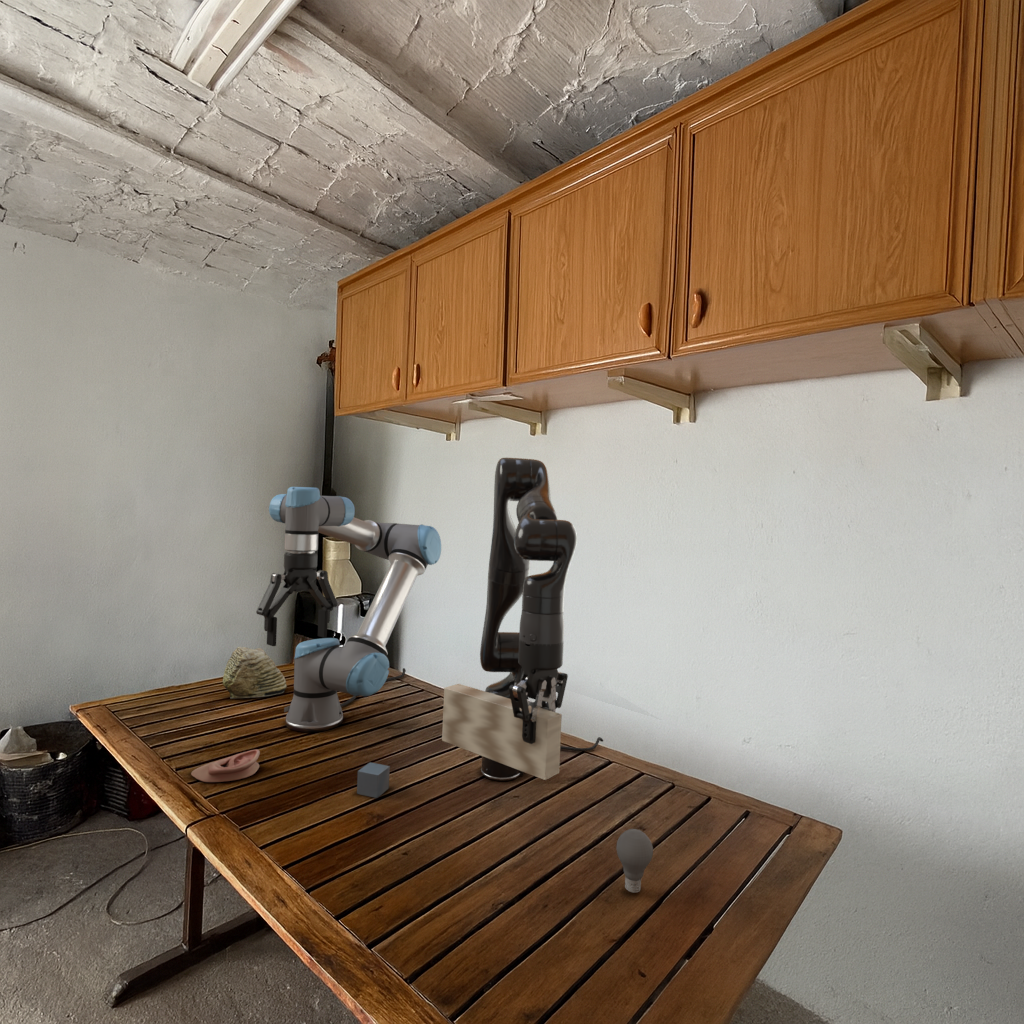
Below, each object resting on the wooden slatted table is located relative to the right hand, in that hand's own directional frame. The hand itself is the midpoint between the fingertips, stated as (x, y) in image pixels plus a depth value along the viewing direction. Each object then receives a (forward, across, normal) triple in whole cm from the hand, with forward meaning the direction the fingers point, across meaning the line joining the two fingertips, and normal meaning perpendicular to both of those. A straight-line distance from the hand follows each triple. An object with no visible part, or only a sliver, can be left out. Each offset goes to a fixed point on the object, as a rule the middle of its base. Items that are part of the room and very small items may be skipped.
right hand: (537, 738), depth 107 cm
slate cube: (+24, -2, -45) cm, 51 cm away
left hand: (-5, +1, -71) cm, 71 cm away
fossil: (+24, -17, -122) cm, 126 cm away
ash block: (+6, 0, -9) cm, 10 cm away
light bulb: (+24, -9, +14) cm, 30 cm away
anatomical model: (+24, +15, -75) cm, 81 cm away
